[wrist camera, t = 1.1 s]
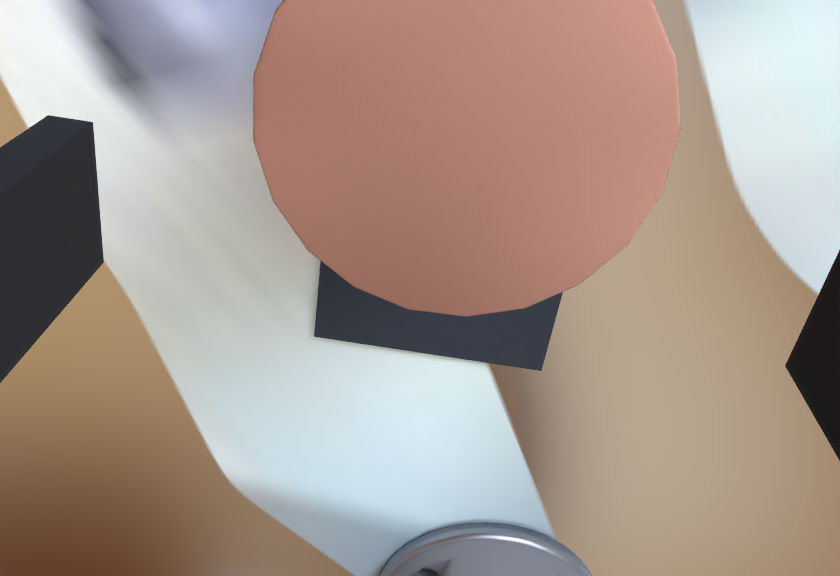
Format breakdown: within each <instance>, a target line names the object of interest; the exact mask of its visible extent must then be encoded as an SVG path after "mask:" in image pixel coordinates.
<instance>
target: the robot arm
mask: <svg viewBox="0 0 840 576" xmlns="http://www.w3.org/2000/svg"><path fill="white" fill-rule="evenodd" d="M103 262H104V261H103V248H102V235H101V222H100V209H99V196H98V183H97V170H96V157H95V144H94V131H93V122H87V121H81V120H75V119H68V118H62V117H55V116H49V115H48V116H46V117H45V118H44V119H42V120H41V121H39V122H38V123H36V124H35V125H33V126H32V127H30V128H29V129H27V130H26V131H24V132H23V133H21V134H20V135H18V136H17V137H15V138H14V139H12V140H11V141H9V142H8V143H6V144H5V145H3V146H2V147H1V148H0V383H1V381H2V380H3V379H4V378H5V377H6V376H7V374H8V373H9V372H10V371H11V370H12V369H13V367H14V366H15V365H16V364H17V363H18V362H19V360H20V359H21V358H22V357H23V356H24V355H25V353H26V352H27V351H28V350H29V349H30V348H31V346H32V345H33V344H34V343H35V342H36V341H37V339H38V338H39V337H40V336H41V335H42V333H43V332H44V331H45V330H46V329H47V328H48V327H49V325H50V324H51V323H52V322H53V321H54V320H55V318H56V317H57V316H58V315H59V314H60V312H61V311H62V310H63V309H64V308H65V307H66V306H67V304H68V303H69V302H70V301H71V300H72V299H73V297H74V296H75V295H76V294H77V293H78V291H79V290H80V289H81V288H82V287H83V286H84V285H85V283H86V282H87V281H88V279H90V277H91V276H92V275H93V274H94V273H95V272H96V270H97V269H98V268H99V267H100V266H101V265H102V263H103ZM786 368H787V370H788V371H789V373H790V375H791V377H792V378H793V380H794V382H795V383H796V385H797V387H798V389H799V390H800V392H801V394H802V396H803V397H804V399H805V401H806V403H807V404H808V406H809V408H810V410H811V411H812V413H813V415H814V417H815V418H816V420H817V422H818V424H819V425H820V427H821V429H822V430H823V432H824V434H825V436H826V437H827V439H828V441H829V443H830V445H831V446H832V448H833V450H834V452H835V453H836V455H837V457H838V458H839V460H840V251H839V253H838V255H837V257H836V259H835V261H834V263H833V265H832V268H831V270H830V272H829V274H828V276H827V278H826V280H825V282H824V285H823V287H822V289H821V291H820V293H819V295H818V297H817V300H816V302H815V304H814V306H813V308H812V310H811V312H810V314H809V316H808V318H807V321H806V323H805V325H804V327H803V329H802V331H801V333H800V336H799V338H798V340H797V342H796V344H795V346H794V349H793V350H792V352H791V355H790V357H789V359H788V361H787V363H786ZM380 576H591V574H590V572H589V571H588V569H587V568H586V566H585V565H584V564H583V562H582V561H581V560H580V559H579V558H578V557H577V556H576V555H575V554H574V553H573V552H572V551H570V550H569V549H568V548H567V547H565V546H564V545H562V544H561V543H559V542H557V541H556V540H554V539H552V538H550V537H548V536H545V535H543V534H541V533H538V532H535V531H532V530H529V529H526V528H522V527H518V526H512V525H506V524H497V523H470V524H460V525H455V526H449V527H445V528H441V529H438V530H435V531H432V532H429V533H427V534H425V535H422V536H420V537H418V538H416V539H414V540H413V541H411V542H409V543H408V544H406V545H405V546H404V547H402V548H401V549H400V550H399V551H397V552H396V553H395V554H394V555H393V557H392V558H391V559H390V560H389V561H388V563H387V564H386V565H385V567H384V569H383V571H382V573H381V575H380Z"/></svg>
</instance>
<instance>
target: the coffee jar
mask: <svg viewBox="0 0 840 576" xmlns="http://www.w3.org/2000/svg"><path fill="white" fill-rule="evenodd" d="M679 133H680V106H679V85H678V64H677V59H676V57H675V54H674V52H673V49H672V47H671V44H670V42H669V40H668V37H667V35H666V32H665V30H664V27H663V25H662V22H661V20H660V18H659V15H658V13H657V10H656V8H655V5H654V3H653V0H283V2H282V3H281V4H280V6H279V7H278V8H277V9H276V11H275V13H274V16H273V19H272V22H271V25H270V28H269V31H268V34H267V37H266V40H265V43H264V46H263V49H262V52H261V55H260V58H259V60H258V63H257V66H256V69H255V72H254V75H253V141H254V144H255V147H256V150H257V153H258V156H259V159H260V163H261V166H262V169H263V172H264V175H265V178H266V181H267V184H268V187H269V190H270V193H271V196H272V199H273V202H274V203H275V205H276V206H277V207H278V209H279V210H280V212H281V213H282V214H283V216H284V217H285V219H286V220H287V222H288V223H289V224H290V226H291V227H292V229H293V230H294V231H295V233H296V234H297V236H298V237H299V239H300V240H301V241H302V243H303V244H304V246H305V247H306V248H307V250H308V251H309V252H311V253H312V254H313V255H314V256H316V257H317V258H318V259H320V260H321V261H322V262H323V263H325V264H326V265H327V266H328V267H330V268H331V269H332V270H333V271H335V272H336V273H337V274H339V275H340V276H341V277H342V278H344V279H345V280H346V281H347V282H349V283H350V284H351V285H352V286H354V287H356V288H358V289H360V290H363V291H365V292H368V293H370V294H373V295H375V296H377V297H380V298H382V299H385V300H387V301H389V302H392V303H394V304H397V305H399V306H402V307H404V308H406V309H410V310H418V311H426V312H434V313H442V314H450V315H458V316H466V317H467V316H474V315H481V314H488V313H495V312H502V311H509V310H516V309H523V308H526V307H529V306H531V305H533V304H536V303H538V302H540V301H543V300H545V299H547V298H549V297H552V296H554V295H556V294H559V293H561V292H563V291H565V290H568V289H570V288H572V287H574V286H577V285H579V284H581V283H582V282H583V281H584V280H585V279H587V278H588V277H589V276H590V275H592V274H593V273H594V272H595V271H596V270H598V269H599V268H600V267H601V266H602V265H604V264H605V263H606V262H607V261H609V260H610V259H611V258H612V257H613V256H615V255H616V254H617V253H618V252H619V251H621V250H622V249H623V248H624V247H626V246H627V245H628V243H629V242H630V240H631V238H632V237H633V236H634V234H635V233H636V231H637V230H638V228H639V227H640V225H641V224H642V222H643V221H644V219H645V218H646V216H647V215H648V213H649V212H650V210H651V209H652V207H653V206H654V204H655V203H656V201H657V200H658V198H659V197H660V195H661V194H662V191H663V188H664V185H665V181H666V178H667V174H668V171H669V167H670V164H671V160H672V157H673V153H674V149H675V146H676V143H677V139H678V136H679Z"/></svg>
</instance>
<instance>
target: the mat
mask: <svg viewBox="0 0 840 576" xmlns="http://www.w3.org/2000/svg"><path fill="white" fill-rule="evenodd" d="M562 293H563V292H561V293H559V294H556V295H554V296H552V297H549V298H547V299H545V300H543V301H540V302H538V303H536V304H533V305H531V306H529V307H526V308H523V309H516V310H509V311H502V312H495V313H488V314H481V315H474V316H467V317H466V316H458V315H450V314H442V313H434V312H426V311H418V310H410V309H406V308H404V307H402V306H399V305H397V304H394V303H392V302H389V301H387V300H385V299H382V298H380V297H377V296H375V295H373V294H370V293H368V292H365V291H363V290H360V289H358V288H356V287H354V286H352V285H351V284H350V283H349V282H347V281H346V280H345V279H344V278H342V277H341V276H340V275H339V274H337V273H336V272H335V271H333V270H332V269H331V268H330V267H328V266H327V265H326V264H325V263H323V262H322V261H321V264H320V276H319V287H318V299H317V310H316V321H315V333H314V336H315V337H321V338H327V339H334V340H341V341H347V342H354V343H360V344H367V345H374V346H380V347H387V348H394V349H400V350H407V351H414V352H420V353H427V354H433V355H440V356H447V357H453V358H460V359H467V360H473V361H480V362H486V363H493V364H500V365H506V366H513V367H520V368H526V369H534V370H540V371H541V370H542V366H543V362H544V359H545V355H546V352H547V348H548V344H549V340H550V336H551V333H552V329H553V326H554V322H555V318H556V315H557V311H558V307H559V304H560V300H561V296H562Z"/></svg>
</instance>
